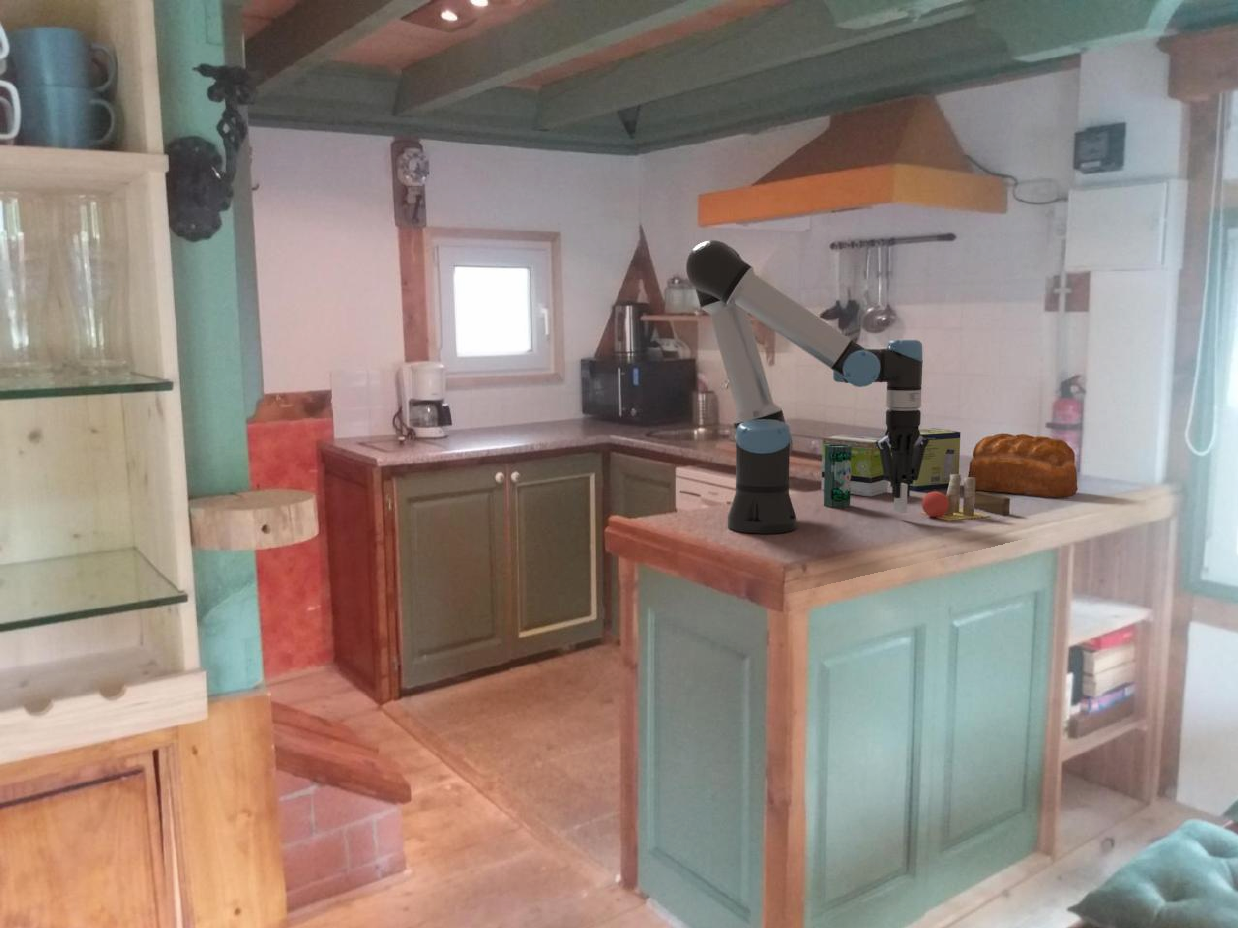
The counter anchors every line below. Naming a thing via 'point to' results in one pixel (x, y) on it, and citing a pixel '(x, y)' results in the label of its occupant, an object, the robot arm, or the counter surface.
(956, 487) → the pin front
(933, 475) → the protein box
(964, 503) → the pin rear right
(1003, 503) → the back rail
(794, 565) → the counter surface
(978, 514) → the plate
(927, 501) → the ball
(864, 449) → the tea box
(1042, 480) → the bread
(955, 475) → the pin rear left
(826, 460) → the can
